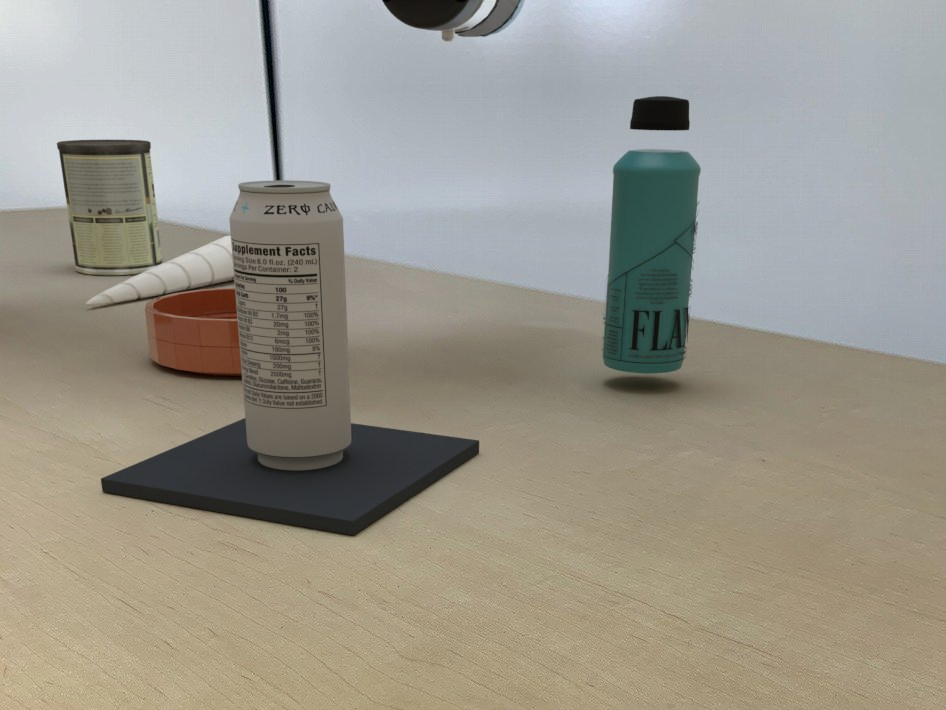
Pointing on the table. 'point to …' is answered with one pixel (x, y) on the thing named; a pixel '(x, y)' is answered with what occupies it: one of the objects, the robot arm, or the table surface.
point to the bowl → (195, 331)
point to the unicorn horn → (176, 274)
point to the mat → (296, 477)
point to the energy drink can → (292, 322)
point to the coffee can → (111, 206)
